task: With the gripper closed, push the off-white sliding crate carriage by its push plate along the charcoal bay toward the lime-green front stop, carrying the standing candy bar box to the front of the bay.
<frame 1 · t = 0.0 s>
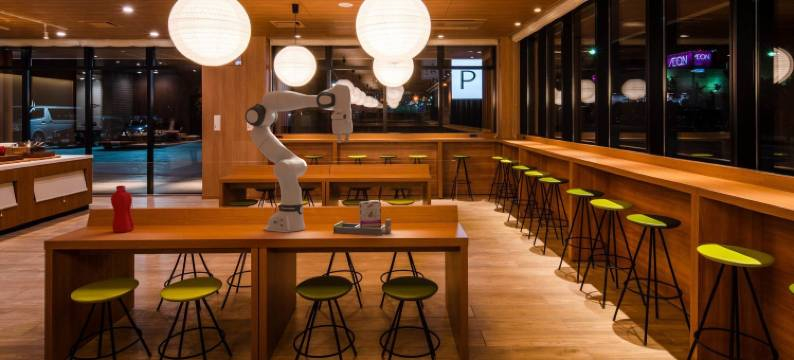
hand: (343, 142, 277), 48 cm above the table, tool pointing down, fingers open, 8 cm apart
crate carriage: (373, 225, 282), point 4 cm above the table, slide at 0.0 cm, touching candy bar box
bay: (363, 231, 284), on the table
candy bar box: (370, 232, 283), resting in crate carriage
water bottle: (124, 231, 287), on the table
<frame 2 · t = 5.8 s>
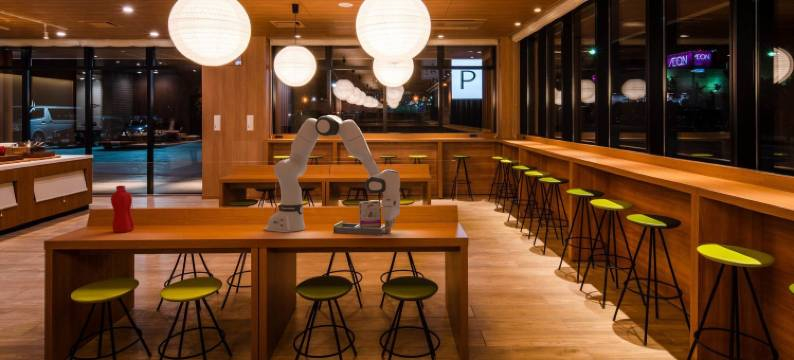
hand: (391, 226, 279), 4 cm above the table, tool pointing down, fingers closed
crate carriage: (373, 225, 282), point 4 cm above the table, slide at 0.2 cm, touching candy bar box, gripper
everything else where it was.
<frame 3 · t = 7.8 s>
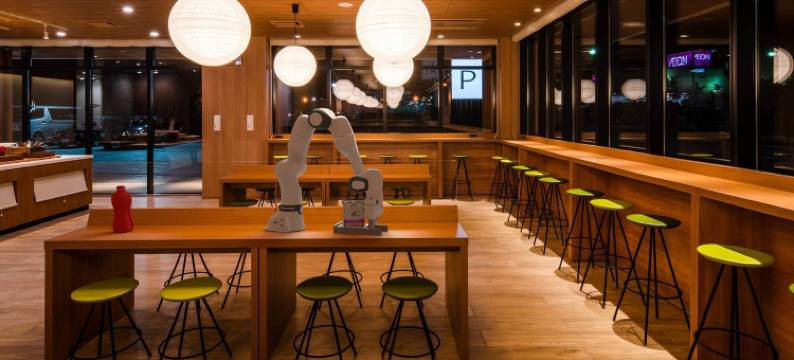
hand: (374, 224, 281), 4 cm above the table, tool pointing down, fingers closed
crate carriage: (356, 224, 284), point 4 cm above the table, slide at 9.4 cm, touching candy bar box
candy bar box: (353, 231, 285), resting in crate carriage
everything else where it was.
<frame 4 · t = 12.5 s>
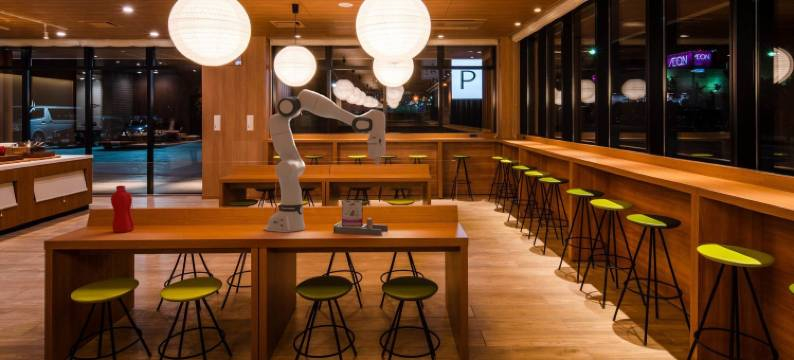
hand: (377, 165, 288), 35 cm above the table, tool pointing down, fingers closed
crate carriage: (355, 224, 284), point 4 cm above the table, slide at 10.4 cm, touching bay, candy bar box
candy bar box: (351, 231, 285), resting in crate carriage
everything else where it was.
at the end: crate carriage slide at 10.4 cm; candy bar box moved 10.4 cm from its start; candy bar box tilted 6° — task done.
